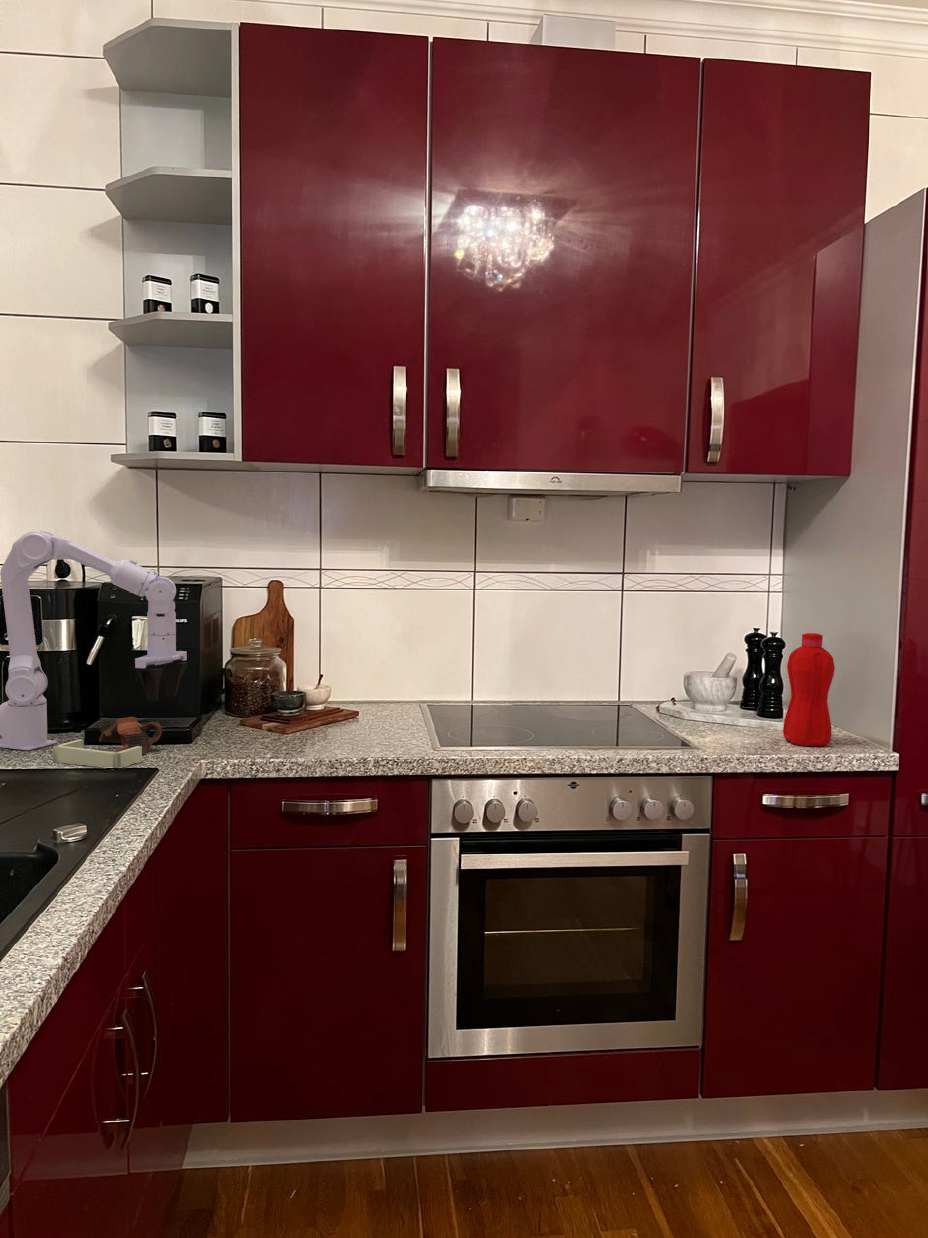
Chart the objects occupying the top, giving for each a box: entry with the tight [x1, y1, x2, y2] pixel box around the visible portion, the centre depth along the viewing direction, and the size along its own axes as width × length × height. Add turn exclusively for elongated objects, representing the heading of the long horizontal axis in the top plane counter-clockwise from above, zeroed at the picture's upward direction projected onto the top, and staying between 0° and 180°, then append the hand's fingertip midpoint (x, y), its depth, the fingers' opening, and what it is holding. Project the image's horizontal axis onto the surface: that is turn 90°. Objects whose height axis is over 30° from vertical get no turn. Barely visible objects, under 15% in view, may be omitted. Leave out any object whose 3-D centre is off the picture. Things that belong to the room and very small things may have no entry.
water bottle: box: [782, 632, 836, 747], centre depth 212 cm, size 9×11×25 cm
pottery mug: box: [99, 716, 163, 755], centre depth 189 cm, size 12×10×8 cm
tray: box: [52, 738, 143, 768], centre depth 180 cm, size 15×7×3 cm, turn 70°
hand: (162, 698), depth 198 cm, fingers open, 6 cm apart
